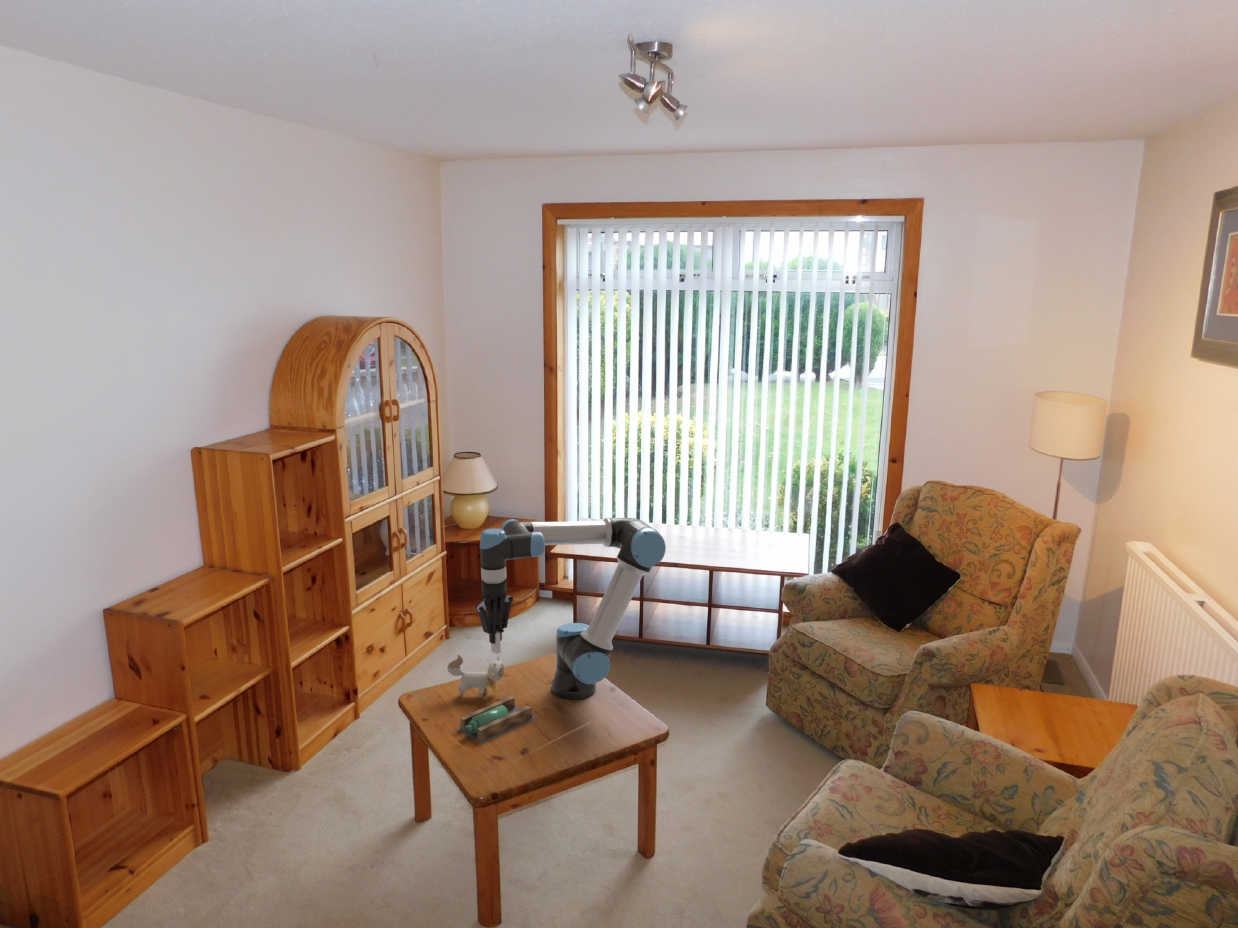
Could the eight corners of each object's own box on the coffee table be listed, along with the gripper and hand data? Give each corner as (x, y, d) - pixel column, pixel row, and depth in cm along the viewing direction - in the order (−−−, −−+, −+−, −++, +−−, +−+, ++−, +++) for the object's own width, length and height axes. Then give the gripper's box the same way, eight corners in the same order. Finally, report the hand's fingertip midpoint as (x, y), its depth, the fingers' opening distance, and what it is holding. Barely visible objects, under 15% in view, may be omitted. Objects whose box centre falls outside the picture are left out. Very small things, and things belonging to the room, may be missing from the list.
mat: (511, 704, 274) (511, 703, 274) (536, 718, 265) (536, 717, 265) (455, 729, 259) (455, 727, 259) (480, 745, 250) (480, 744, 250)
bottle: (500, 701, 263) (461, 717, 253) (510, 712, 260) (471, 729, 250) (497, 714, 265) (459, 731, 255) (507, 725, 262) (468, 742, 252)
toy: (502, 703, 275) (501, 661, 271) (445, 702, 275) (443, 660, 272) (506, 690, 283) (505, 649, 280) (451, 689, 284) (449, 648, 280)
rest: (511, 705, 272) (511, 695, 272) (532, 717, 265) (531, 707, 264) (460, 728, 258) (460, 717, 258) (481, 741, 251) (480, 730, 250)
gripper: (503, 571, 259) (505, 641, 264) (468, 581, 250) (471, 654, 255) (518, 577, 254) (520, 648, 259) (483, 588, 245) (486, 662, 250)
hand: (496, 651), depth 257 cm, fingers closed
